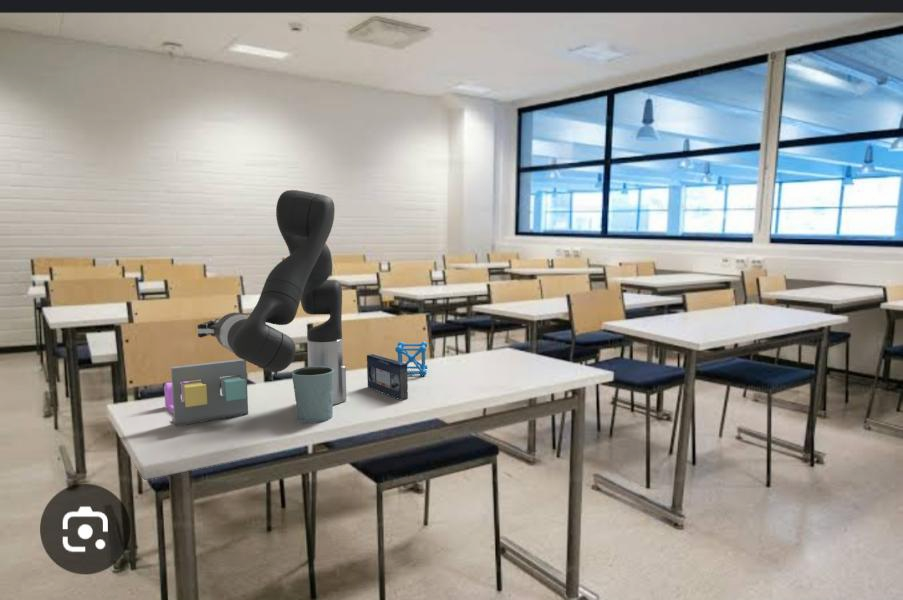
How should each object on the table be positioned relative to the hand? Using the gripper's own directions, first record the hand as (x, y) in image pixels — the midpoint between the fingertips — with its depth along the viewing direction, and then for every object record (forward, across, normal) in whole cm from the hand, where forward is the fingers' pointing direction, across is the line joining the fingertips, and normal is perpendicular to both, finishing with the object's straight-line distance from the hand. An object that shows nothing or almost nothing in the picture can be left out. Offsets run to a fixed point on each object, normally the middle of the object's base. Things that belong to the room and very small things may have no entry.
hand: (220, 323), depth 131 cm
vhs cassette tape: (+14, -48, +26) cm, 56 cm away
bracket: (+28, +4, +26) cm, 39 cm away
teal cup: (+3, -22, +26) cm, 34 cm away
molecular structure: (+31, -66, +26) cm, 78 cm away
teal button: (+13, -5, +20) cm, 24 cm away
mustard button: (+13, +4, +20) cm, 24 cm away
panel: (+18, 0, +26) cm, 31 cm away
